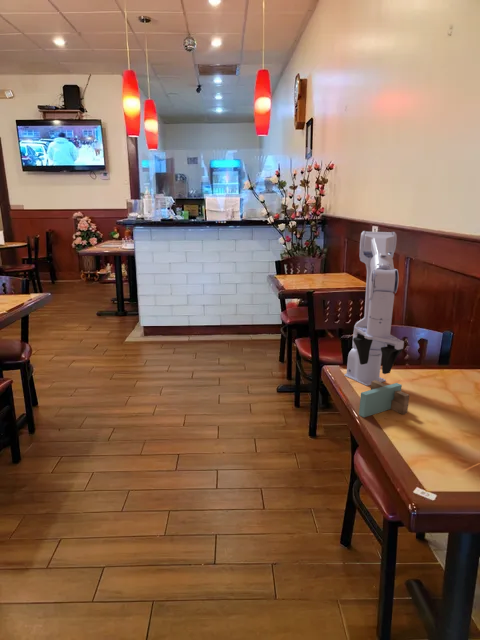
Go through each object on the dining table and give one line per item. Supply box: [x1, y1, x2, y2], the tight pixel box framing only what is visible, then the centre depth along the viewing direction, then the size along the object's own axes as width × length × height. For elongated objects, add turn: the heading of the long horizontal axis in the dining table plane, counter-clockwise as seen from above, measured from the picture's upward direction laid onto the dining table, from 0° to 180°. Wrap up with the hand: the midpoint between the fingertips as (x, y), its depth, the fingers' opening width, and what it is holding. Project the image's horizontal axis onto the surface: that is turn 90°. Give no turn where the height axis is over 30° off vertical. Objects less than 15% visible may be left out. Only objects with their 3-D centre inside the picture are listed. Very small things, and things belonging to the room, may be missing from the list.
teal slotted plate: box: [358, 382, 403, 418], centre depth 116 cm, size 2×13×6 cm, turn 122°
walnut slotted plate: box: [370, 380, 410, 415], centre depth 119 cm, size 11×2×5 cm, turn 31°
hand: (374, 368), depth 118 cm, fingers open, 7 cm apart
